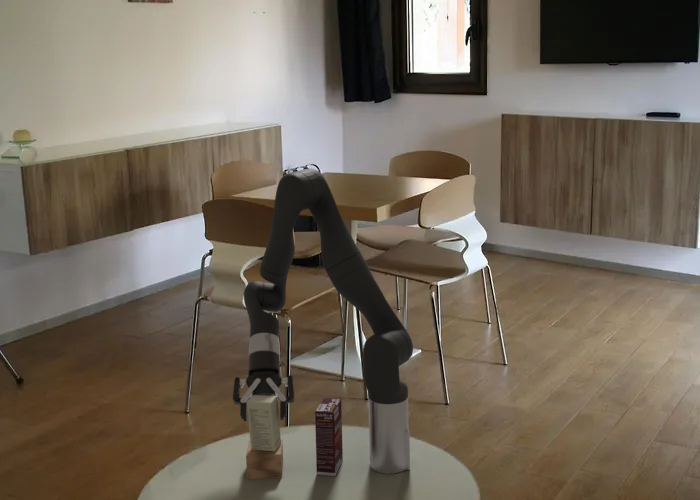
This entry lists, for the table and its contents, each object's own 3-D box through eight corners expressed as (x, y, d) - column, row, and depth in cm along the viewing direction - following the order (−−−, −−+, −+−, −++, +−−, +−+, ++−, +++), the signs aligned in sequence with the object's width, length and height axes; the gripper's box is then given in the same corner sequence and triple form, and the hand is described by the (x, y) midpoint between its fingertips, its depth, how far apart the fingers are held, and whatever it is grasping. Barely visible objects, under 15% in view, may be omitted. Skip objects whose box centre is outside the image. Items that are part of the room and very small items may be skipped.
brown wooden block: (283, 462, 210) (282, 439, 209) (282, 478, 203) (280, 454, 201) (249, 464, 210) (248, 440, 209) (247, 479, 202) (246, 455, 201)
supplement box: (336, 476, 202) (334, 412, 199) (316, 475, 203) (313, 411, 200) (344, 460, 210) (342, 398, 207) (324, 458, 211) (322, 397, 208)
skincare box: (281, 444, 206) (278, 395, 203) (275, 452, 202) (272, 403, 199) (256, 441, 208) (253, 393, 205) (249, 449, 204) (246, 400, 201)
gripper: (233, 350, 208) (230, 414, 199) (293, 348, 208) (293, 412, 199) (236, 363, 214) (234, 426, 205) (294, 361, 214) (295, 424, 206)
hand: (263, 419), depth 202 cm, fingers open, 8 cm apart
